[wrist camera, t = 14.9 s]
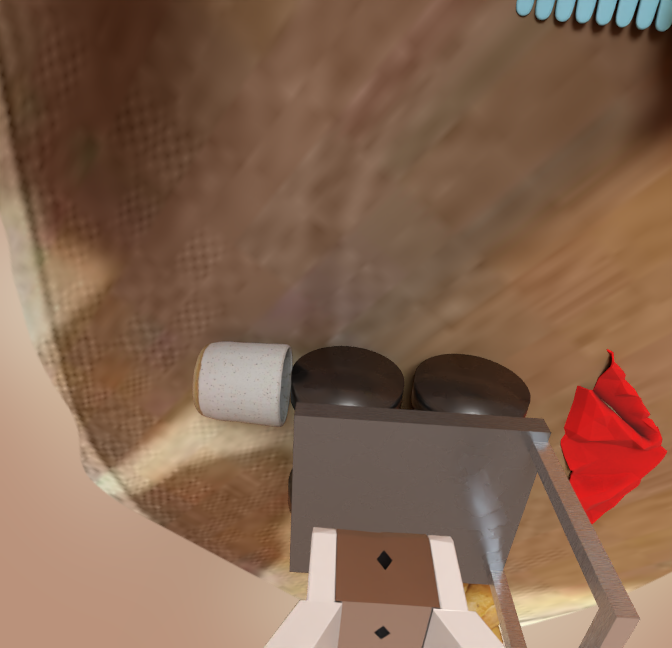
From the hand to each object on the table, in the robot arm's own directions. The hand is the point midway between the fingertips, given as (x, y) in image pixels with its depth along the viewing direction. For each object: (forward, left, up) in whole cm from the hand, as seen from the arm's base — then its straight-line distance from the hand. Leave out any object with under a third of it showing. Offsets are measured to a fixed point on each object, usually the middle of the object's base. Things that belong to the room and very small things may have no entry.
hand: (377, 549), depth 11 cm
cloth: (+39, -2, -35) cm, 53 cm away
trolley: (+19, -14, -34) cm, 42 cm away
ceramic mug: (+6, -20, -34) cm, 40 cm away
